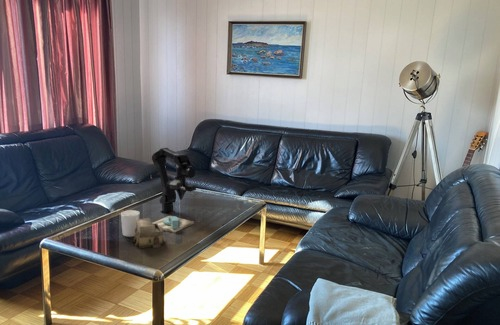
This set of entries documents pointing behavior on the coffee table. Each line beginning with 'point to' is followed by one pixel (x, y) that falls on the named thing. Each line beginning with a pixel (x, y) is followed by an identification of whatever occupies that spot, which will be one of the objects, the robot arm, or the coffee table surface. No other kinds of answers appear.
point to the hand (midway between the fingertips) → (180, 199)
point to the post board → (163, 226)
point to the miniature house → (148, 234)
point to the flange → (172, 221)
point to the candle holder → (129, 222)
